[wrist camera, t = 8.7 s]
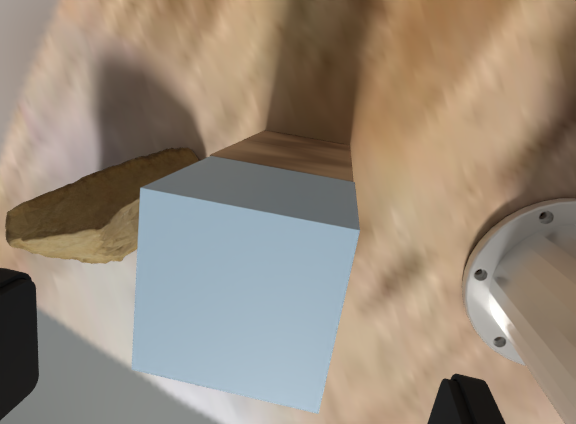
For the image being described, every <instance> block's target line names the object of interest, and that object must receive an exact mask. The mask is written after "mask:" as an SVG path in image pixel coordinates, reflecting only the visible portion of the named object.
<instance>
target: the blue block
mask: <svg viewBox="0 0 576 424" xmlns="http://www.w3.org/2000/svg"><path fill="white" fill-rule="evenodd" d="M359 232H360V227H359V218H358V208H357V199H356V190H355V182H351V181H345V180H340V179H334V178H329V177H323V176H318V175H313V174H307V173H302V172H296V171H291V170H285V169H280V168H275V167H269V166H264V165H258V164H253V163H248V162H242V161H237V160H231V159H226V158H220V157H215V156H210V157H207V158H205V159H203V160H201V161H198V162H196V163H194V164H192V165H190V166H187V167H185V168H183V169H181V170H179V171H176V172H174V173H172V174H170V175H167V176H165V177H163V178H161V179H159V180H156V181H154V182H152V183H150V184H148V185H145V186H143V187H141V188H140V205H139V226H138V248H137V269H136V290H135V311H134V332H133V353H132V370H135V371H140V372H144V373H148V374H152V375H156V376H161V377H165V378H169V379H173V380H178V381H182V382H186V383H190V384H195V385H199V386H203V387H207V388H212V389H216V390H220V391H224V392H228V393H233V394H237V395H241V396H245V397H250V398H254V399H258V400H262V401H267V402H271V403H275V404H279V405H283V406H288V407H292V408H296V409H300V410H305V411H309V412H313V413H317V414H318V413H319V409H320V404H321V400H322V395H323V391H324V387H325V382H326V378H327V373H328V369H329V365H330V360H331V356H332V351H333V347H334V342H335V338H336V334H337V329H338V325H339V320H340V316H341V312H342V307H343V303H344V298H345V294H346V289H347V285H348V281H349V276H350V272H351V267H352V263H353V259H354V254H355V250H356V245H357V241H358V236H359Z"/></svg>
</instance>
